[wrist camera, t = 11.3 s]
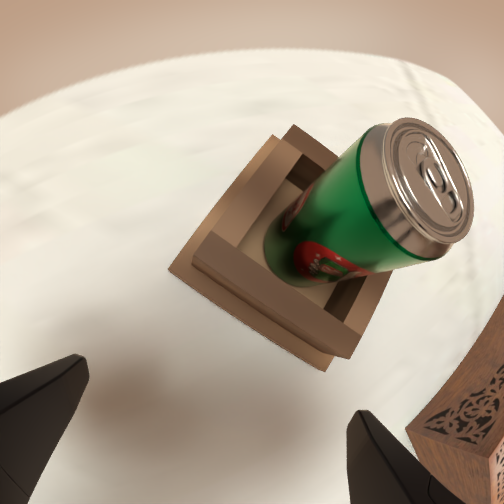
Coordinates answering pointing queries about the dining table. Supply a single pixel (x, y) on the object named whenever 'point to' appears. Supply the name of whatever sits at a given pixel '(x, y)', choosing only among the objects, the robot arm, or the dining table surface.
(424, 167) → the soda can
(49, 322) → the dining table surface
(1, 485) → the robot arm
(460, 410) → the tissue box cover
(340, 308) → the socket block
